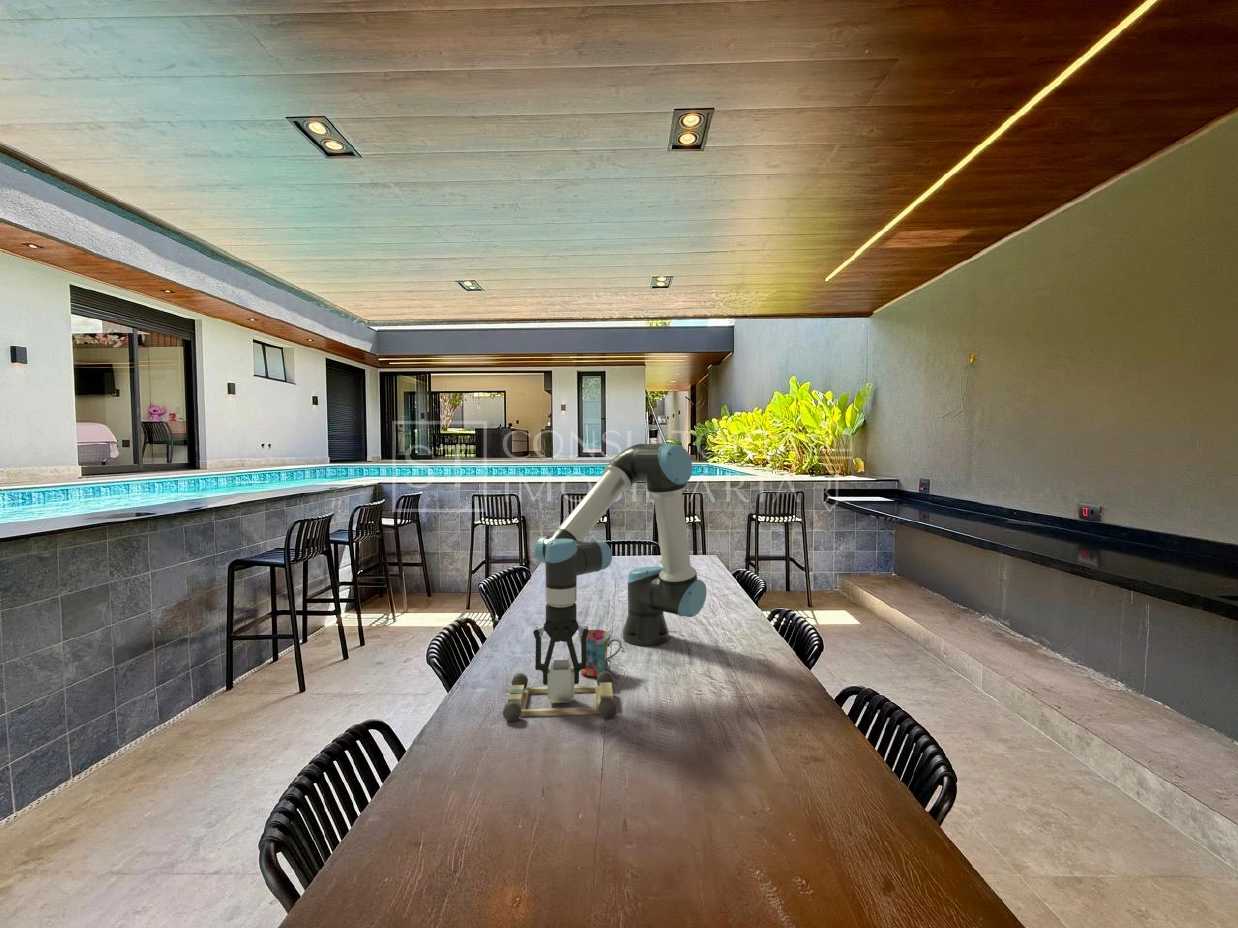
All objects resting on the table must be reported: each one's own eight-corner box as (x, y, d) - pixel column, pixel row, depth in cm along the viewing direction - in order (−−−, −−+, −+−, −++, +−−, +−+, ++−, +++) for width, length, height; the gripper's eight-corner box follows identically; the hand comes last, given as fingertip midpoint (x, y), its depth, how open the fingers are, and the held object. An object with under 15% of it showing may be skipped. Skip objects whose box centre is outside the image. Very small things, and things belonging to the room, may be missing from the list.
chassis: (612, 685, 149) (612, 670, 149) (616, 718, 131) (616, 701, 131) (512, 688, 147) (512, 673, 147) (502, 722, 129) (502, 704, 129)
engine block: (571, 693, 141) (571, 658, 141) (571, 702, 136) (571, 666, 136) (551, 693, 141) (551, 659, 141) (550, 702, 136) (550, 666, 136)
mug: (576, 679, 153) (576, 640, 152) (579, 665, 162) (579, 629, 162) (621, 679, 153) (621, 640, 152) (621, 665, 162) (621, 629, 162)
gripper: (597, 598, 142) (597, 689, 143) (525, 599, 141) (525, 691, 142) (598, 606, 135) (598, 702, 136) (522, 607, 134) (522, 704, 134)
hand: (561, 696), depth 139 cm, fingers closed on engine block, 5 cm apart
